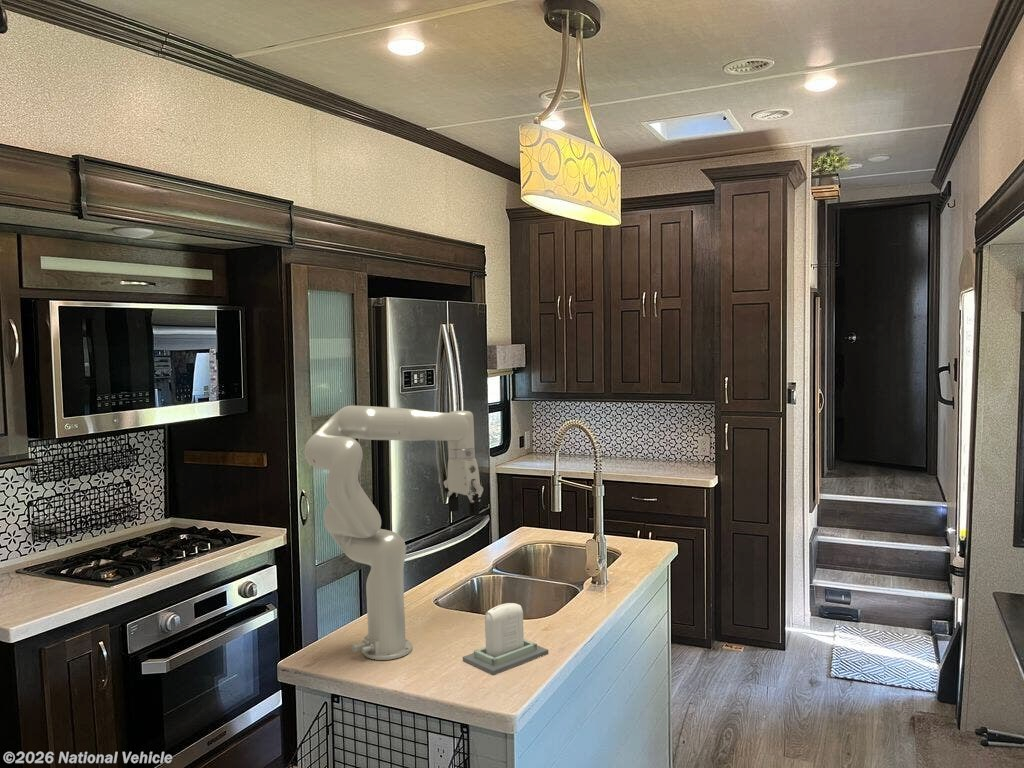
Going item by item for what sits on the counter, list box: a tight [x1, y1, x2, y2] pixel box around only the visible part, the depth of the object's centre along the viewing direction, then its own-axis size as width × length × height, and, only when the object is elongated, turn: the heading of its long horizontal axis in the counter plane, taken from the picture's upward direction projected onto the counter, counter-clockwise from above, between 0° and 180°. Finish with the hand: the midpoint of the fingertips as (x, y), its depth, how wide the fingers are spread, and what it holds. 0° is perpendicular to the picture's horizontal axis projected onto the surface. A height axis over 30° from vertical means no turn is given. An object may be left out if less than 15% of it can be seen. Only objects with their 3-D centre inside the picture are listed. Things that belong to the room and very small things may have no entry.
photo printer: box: [484, 602, 525, 658], centre depth 196 cm, size 10×4×12 cm, turn 125°
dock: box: [462, 638, 549, 676], centre depth 196 cm, size 18×12×2 cm, turn 131°
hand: (463, 513), depth 225 cm, fingers open, 9 cm apart
